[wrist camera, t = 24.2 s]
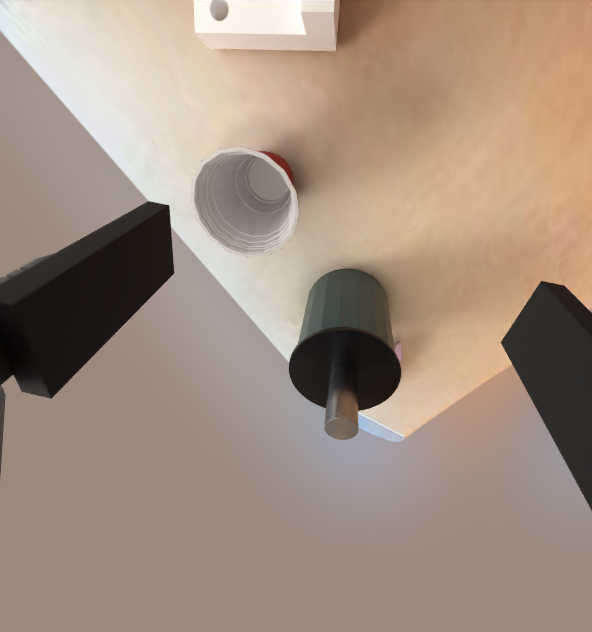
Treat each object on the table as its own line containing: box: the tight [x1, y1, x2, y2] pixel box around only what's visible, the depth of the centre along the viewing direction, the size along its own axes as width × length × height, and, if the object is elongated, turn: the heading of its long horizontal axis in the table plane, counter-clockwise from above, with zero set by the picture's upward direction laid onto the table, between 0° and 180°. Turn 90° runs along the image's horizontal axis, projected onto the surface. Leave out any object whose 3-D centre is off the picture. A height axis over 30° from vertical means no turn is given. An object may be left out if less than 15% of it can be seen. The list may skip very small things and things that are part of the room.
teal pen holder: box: [298, 269, 395, 351], centre depth 45 cm, size 12×12×14 cm
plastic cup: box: [191, 146, 299, 257], centre depth 37 cm, size 11×11×12 cm
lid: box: [289, 327, 401, 440], centre depth 36 cm, size 13×13×9 cm
